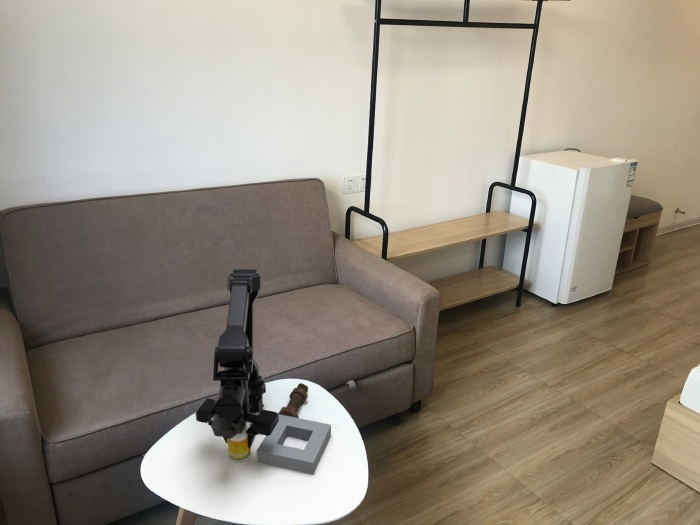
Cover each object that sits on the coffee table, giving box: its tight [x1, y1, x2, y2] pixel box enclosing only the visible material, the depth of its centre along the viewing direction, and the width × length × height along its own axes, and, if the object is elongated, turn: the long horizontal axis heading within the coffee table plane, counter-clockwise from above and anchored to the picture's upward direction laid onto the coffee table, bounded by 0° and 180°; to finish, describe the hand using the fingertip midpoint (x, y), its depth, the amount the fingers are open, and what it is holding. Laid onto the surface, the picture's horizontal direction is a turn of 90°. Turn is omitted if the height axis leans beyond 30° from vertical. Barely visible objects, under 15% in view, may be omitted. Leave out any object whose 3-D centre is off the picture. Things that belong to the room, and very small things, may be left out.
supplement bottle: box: [226, 422, 252, 463], centre depth 137 cm, size 5×5×10 cm
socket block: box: [256, 414, 332, 476], centre depth 141 cm, size 14×14×4 cm
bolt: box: [277, 382, 309, 418], centre depth 155 cm, size 6×5×15 cm
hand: (239, 444), depth 138 cm, fingers closed on supplement bottle, 5 cm apart
